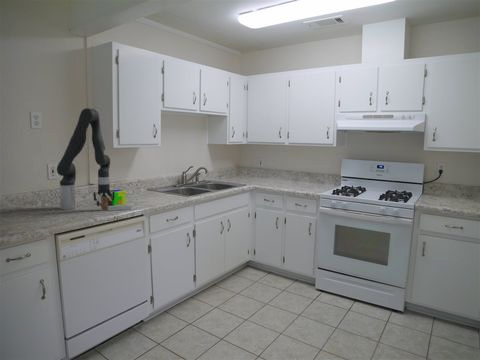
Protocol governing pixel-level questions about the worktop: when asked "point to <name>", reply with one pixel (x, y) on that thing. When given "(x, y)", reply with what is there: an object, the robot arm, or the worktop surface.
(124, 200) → the puzzle toy
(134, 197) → the worktop surface
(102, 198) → the walnut block
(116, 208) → the slate mat
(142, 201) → the worktop surface
